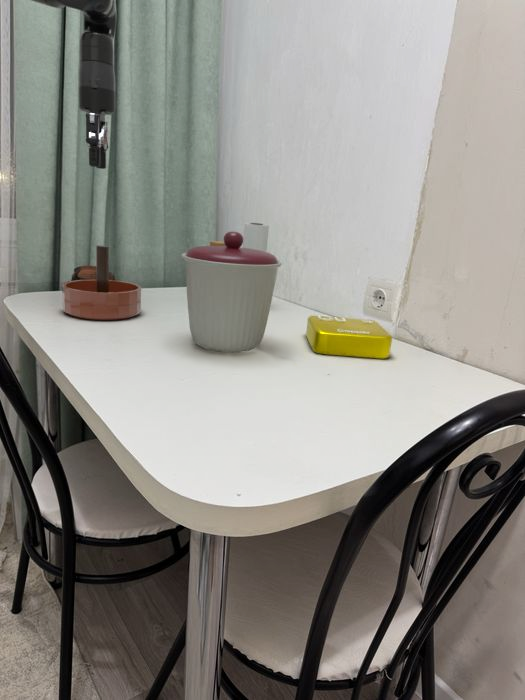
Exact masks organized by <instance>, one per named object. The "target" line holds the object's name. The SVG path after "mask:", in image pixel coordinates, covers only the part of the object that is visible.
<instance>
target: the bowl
mask: <svg viewBox="0 0 525 700" xmlns="http://www.w3.org/2000/svg"><path fill="white" fill-rule="evenodd" d="M61 290H62V291H61V293H62V294H61V296H62V297H61V299H62V301H61V302H62V311H63V312H64V313H66V314H69V315H70V316H73V317H75V318H79V319H84V320H91V321H92V320H94V321H115V320H116V321H117V320H125V319H129V318H132V317H134V316H138V315H139V314H140V313H141V312H142V286H141V285H139V284H136V283H133V282H129V281H122V280H115V281H114V280H109V292H97V283H96V280H76V281H71V280H70V281H66V282H64V283H63V284H61Z"/></svg>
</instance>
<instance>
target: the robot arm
mask: <svg viewBox="0 0 525 700" xmlns="http://www.w3.org/2000/svg"><path fill="white" fill-rule="evenodd" d="M30 1H31V2H34V3H37V4H41V5H44V6H48V7H50V8H53V9H63V8H65V7H67V8H71V9H75V10H77V11H80V12H82V16H83V21H82V22H83V23H82V24H83V26H82V28H83V29H82V33H81V34H80V36H79V42H78V44H79V45H78V46H79V50H78V51H79V53H78V54H79V66H78V108H79V110H80V111H82V112H85V142H86V144H87V147H88V165H89V166H90V167H92V168H93V167H95V168H96V169H101V170H105V169H106V168H107V151H108V150H109V123H108V121H106V116H111V115H115V113H116V73H115V44H114V43H115V35H116V27H117V4H116V3H117V2H116V0H30Z"/></svg>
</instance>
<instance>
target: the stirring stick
mask: <svg viewBox="0 0 525 700" xmlns="http://www.w3.org/2000/svg"><path fill="white" fill-rule="evenodd" d="M95 247H96V248H95V249H96V250H95V251H96V255H95V257H96V258H95V259H96V263H95V264H96V265H95V266H96V283H97V292H109V272H110V246H109V245H96V246H95Z"/></svg>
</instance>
